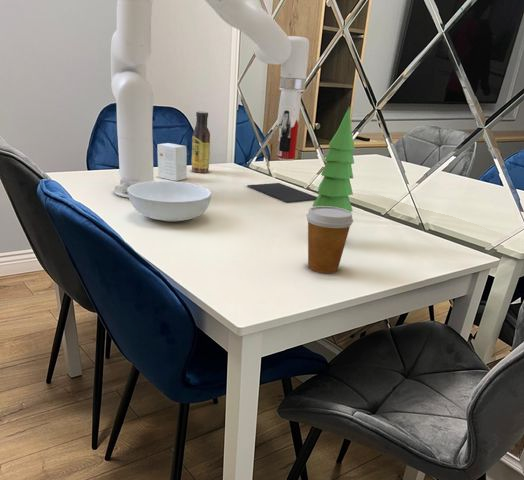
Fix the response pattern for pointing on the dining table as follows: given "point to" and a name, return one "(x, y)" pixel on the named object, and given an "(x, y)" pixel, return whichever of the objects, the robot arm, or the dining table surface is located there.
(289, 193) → the placemat
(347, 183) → the decorative tree
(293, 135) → the soda can
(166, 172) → the small box
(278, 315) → the dining table surface
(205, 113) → the sauce bottle
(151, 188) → the serving bowl
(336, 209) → the disposable coffee cup
